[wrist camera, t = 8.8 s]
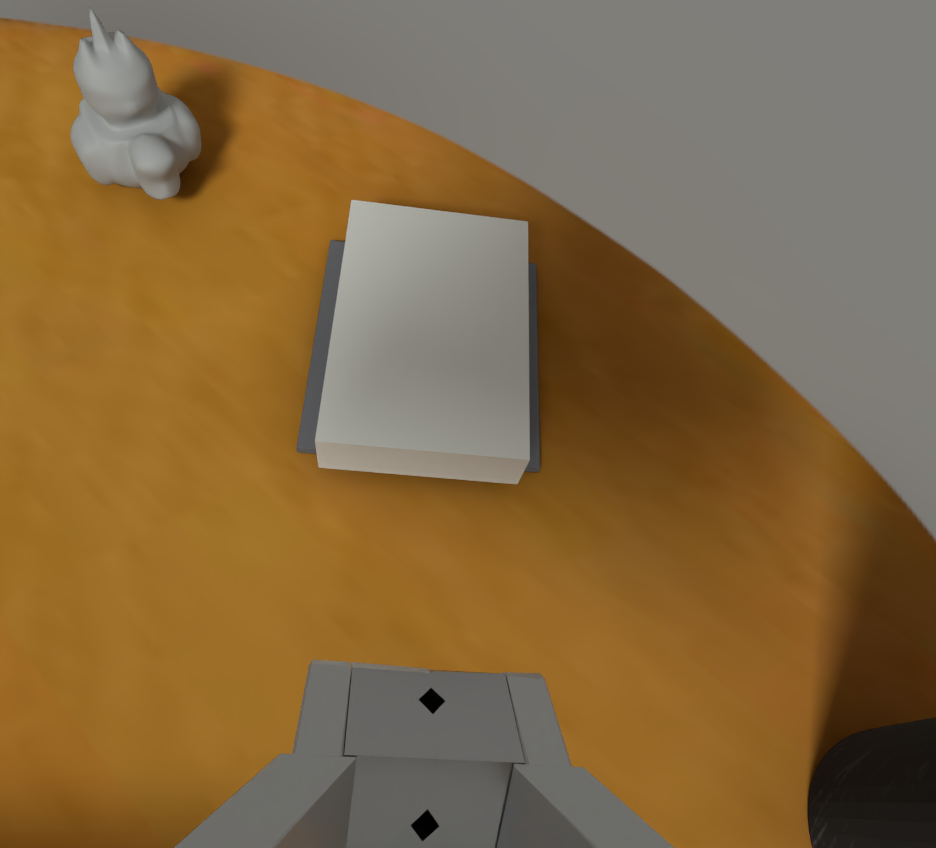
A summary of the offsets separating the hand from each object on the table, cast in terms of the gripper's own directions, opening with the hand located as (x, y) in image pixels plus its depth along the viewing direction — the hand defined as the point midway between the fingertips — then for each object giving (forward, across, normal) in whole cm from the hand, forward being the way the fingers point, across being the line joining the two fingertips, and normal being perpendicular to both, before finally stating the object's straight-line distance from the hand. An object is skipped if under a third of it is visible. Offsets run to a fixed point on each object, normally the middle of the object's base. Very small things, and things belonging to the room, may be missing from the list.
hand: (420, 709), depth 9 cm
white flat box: (+18, -1, +3) cm, 18 cm away
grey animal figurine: (+30, +13, -5) cm, 33 cm away
